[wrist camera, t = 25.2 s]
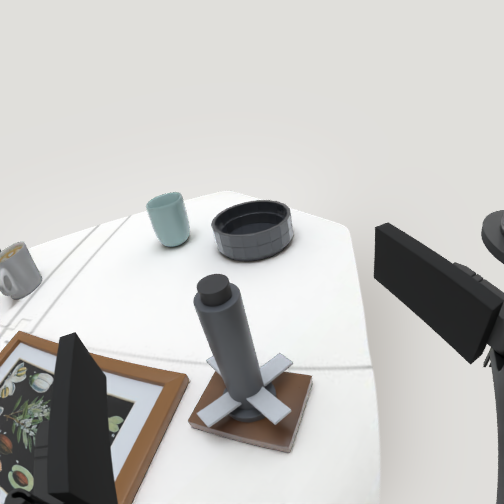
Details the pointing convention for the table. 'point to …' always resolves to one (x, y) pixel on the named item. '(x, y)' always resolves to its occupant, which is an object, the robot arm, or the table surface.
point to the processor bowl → (253, 230)
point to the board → (263, 431)
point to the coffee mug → (18, 271)
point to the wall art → (118, 401)
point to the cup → (169, 219)
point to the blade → (236, 357)
